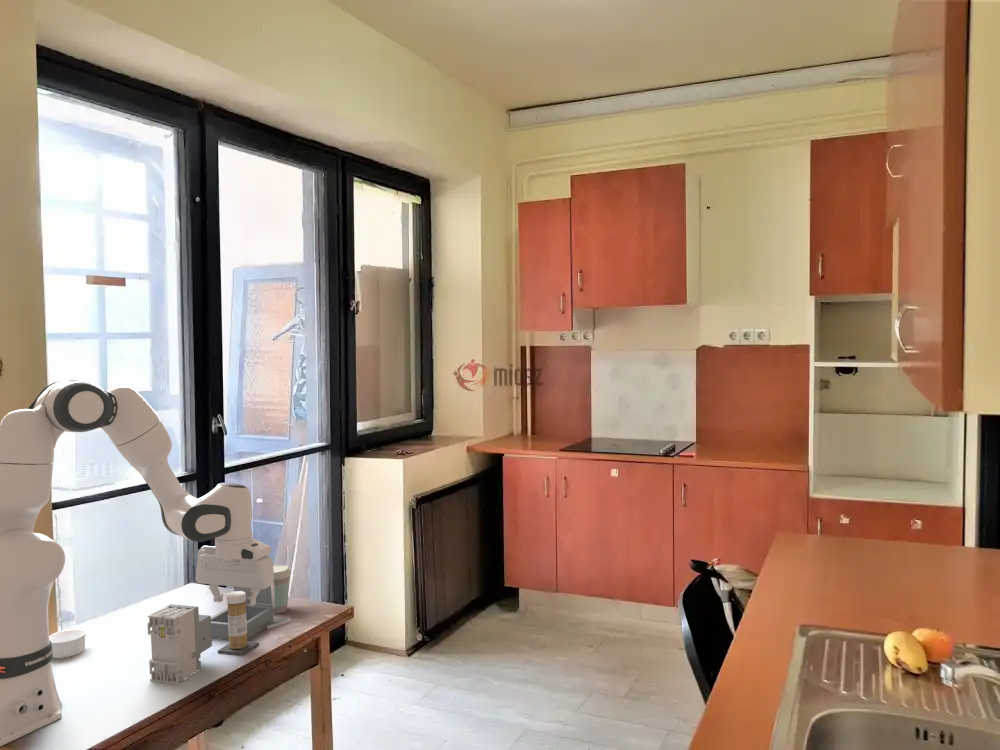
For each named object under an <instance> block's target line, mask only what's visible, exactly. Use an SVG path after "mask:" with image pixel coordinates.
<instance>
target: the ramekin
mask: <svg viewBox="0 0 1000 750" xmlns="http://www.w3.org/2000/svg"><path fill="white" fill-rule="evenodd" d="M86 634H87V632H86V630H84V629H78V628H75V629H66V630H62V631H57V632H55V633H52V634H49V640H50V641H51V642H52V650H53V652H52V653H53V658H52V659H65V657H66V658H70V656H71V657H74V656H77V655H78V653H79V654H80V653H82V652H83V651H84V650H85V647H86V636H87V635H86ZM81 651H82V652H81ZM76 654H77V655H76ZM73 655H74V656H73Z"/></svg>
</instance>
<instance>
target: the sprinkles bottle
mask: <svg viewBox="0 0 1000 750" xmlns="http://www.w3.org/2000/svg"><path fill="white" fill-rule="evenodd" d="M245 602H246V593H245V592H243V591H235V592H234V591H231V592H229V593H228V594H226V604H227V608H228V629H229V640H228V641H229V642H228V644H229V647H230V648H231V649H241V648H244V647H246V646H247V645H248V642H247V641H248V639H247V621H246V604H245Z"/></svg>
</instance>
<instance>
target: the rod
mask: <svg viewBox="0 0 1000 750" xmlns="http://www.w3.org/2000/svg"><path fill="white" fill-rule="evenodd" d="M288 623H291V618H289V617H286V618H284V619H283V618H282V619H280V620H276V621H274V622H272V623H270V624H267V625H265V628H266V629H265V628H264V629H265V630H271V629H274V628H276V627H279V626H283V625H286V624H288Z"/></svg>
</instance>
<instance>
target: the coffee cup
mask: <svg viewBox="0 0 1000 750" xmlns="http://www.w3.org/2000/svg"><path fill="white" fill-rule="evenodd" d="M273 571H274V590H275V609H273V615H278V614H282V613H284V612H286V611H287V610H288V603H289V602H288V601H289V588H290V578H291V575H292V573H291V570H290V568H289V566H288V565H285V564H275V565H274V564H273Z"/></svg>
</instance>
